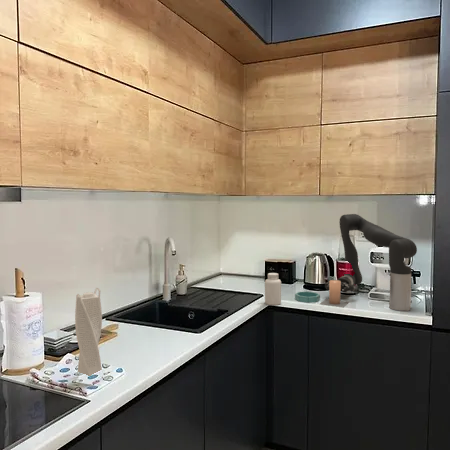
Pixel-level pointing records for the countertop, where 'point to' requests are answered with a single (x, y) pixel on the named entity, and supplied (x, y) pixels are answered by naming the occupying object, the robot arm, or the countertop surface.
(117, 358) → the countertop surface
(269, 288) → the pill bottle
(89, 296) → the skyscraper
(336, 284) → the canister
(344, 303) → the mat
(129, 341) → the countertop surface
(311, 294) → the bowl
